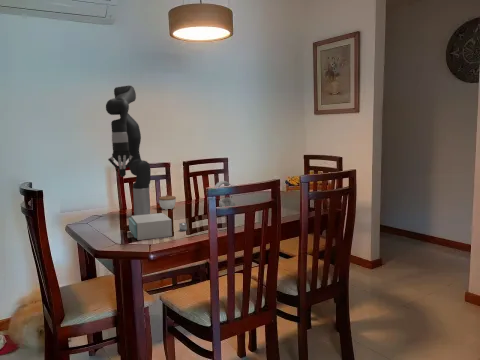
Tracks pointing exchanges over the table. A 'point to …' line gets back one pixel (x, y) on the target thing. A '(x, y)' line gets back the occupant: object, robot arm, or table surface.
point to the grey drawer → (133, 227)
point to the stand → (183, 226)
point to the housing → (152, 226)
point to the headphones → (225, 201)
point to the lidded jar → (167, 202)
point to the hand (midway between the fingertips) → (122, 176)
